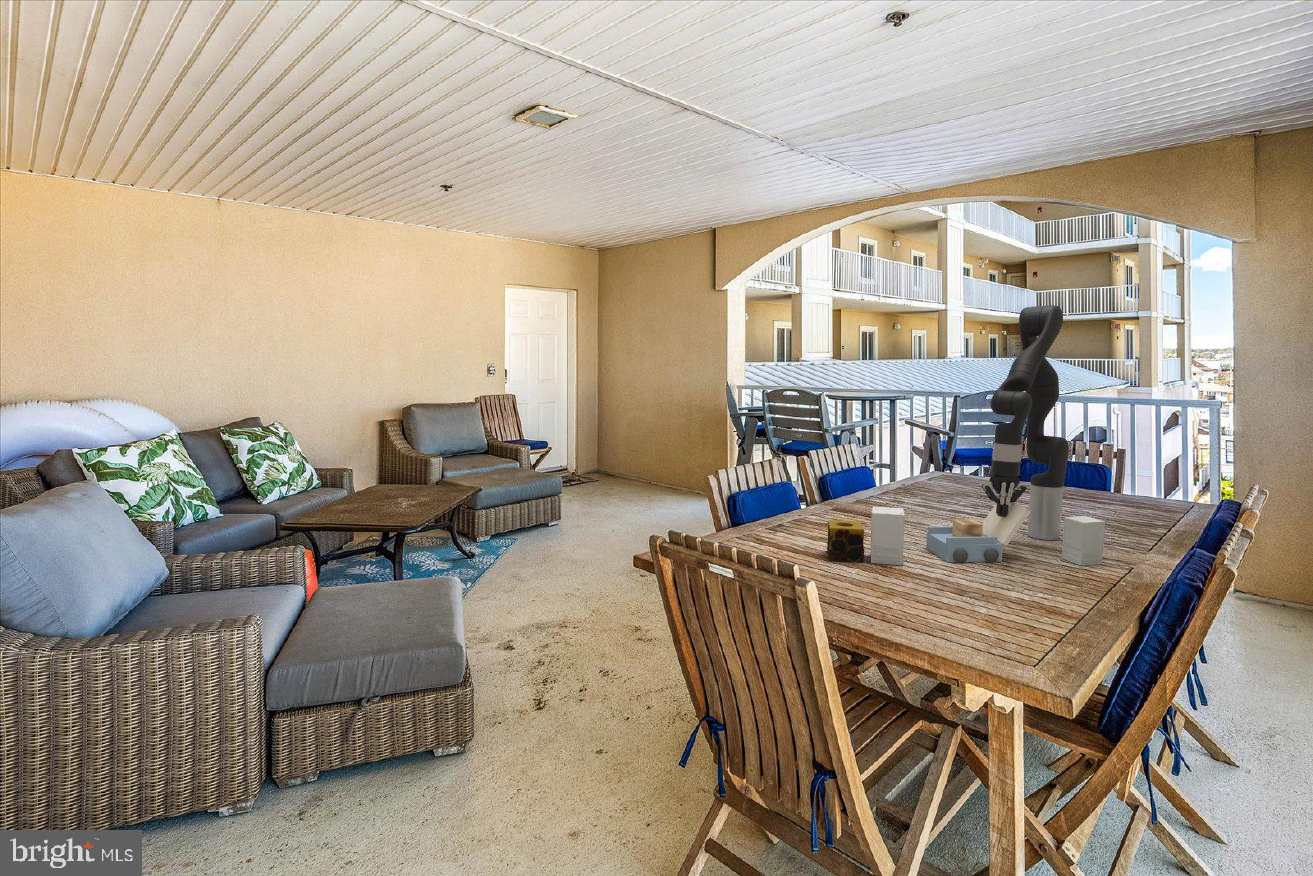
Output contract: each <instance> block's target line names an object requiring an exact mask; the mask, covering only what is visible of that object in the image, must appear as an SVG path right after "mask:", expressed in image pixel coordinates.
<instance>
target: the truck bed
mask: <svg viewBox="0 0 1313 876" xmlns="http://www.w3.org/2000/svg"><path fill="white" fill-rule="evenodd" d="M952 529H953V525H951V526H949V525H947V526H945V525H944V526H943V525H942V526H940V525H939V526H927V532H926V541H925V542H926V545H925V546H926V547H925V548H926V549H927V550H928V551H930V552H931V553H933V554H934V555H936V556H938V557H939V558H940V559H942V560H943V561H945V562H946V563H959V564H963V563H976V562H977V563H978V562H979V563H980V562H981V563H983V562H985V563H987V562H989V563H994V562H1002V561H1003V551H1004V550H1003V549H1004V544H1002V543H1000V542H998V541H997V537H995V536H989V537H988V536H986V535H984V534H982V537H954V536H952Z"/></svg>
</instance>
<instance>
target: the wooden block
mask: <svg viewBox="0 0 1313 876" xmlns="http://www.w3.org/2000/svg"><path fill="white" fill-rule="evenodd" d="M952 526H953V529H952V536H954V537H982V532H983V524H982V523H981V522H979V521H977V520H975V519H973V518H972V519H971V518H970V519H969V518H966V519H963V518H962V519H961V518H959V519H952Z"/></svg>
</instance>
